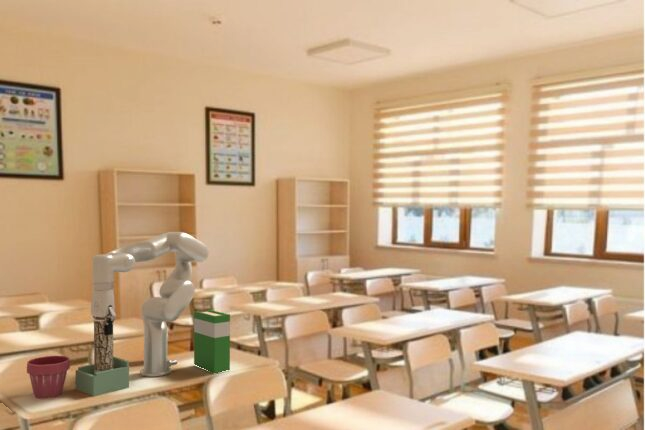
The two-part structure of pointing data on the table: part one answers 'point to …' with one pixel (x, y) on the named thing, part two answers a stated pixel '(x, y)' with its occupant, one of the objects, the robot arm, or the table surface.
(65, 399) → the table surface
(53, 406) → the table surface
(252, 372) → the table surface
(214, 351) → the green cereal box
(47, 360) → the plant pot
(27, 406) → the table surface
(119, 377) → the open box
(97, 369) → the wooden log
